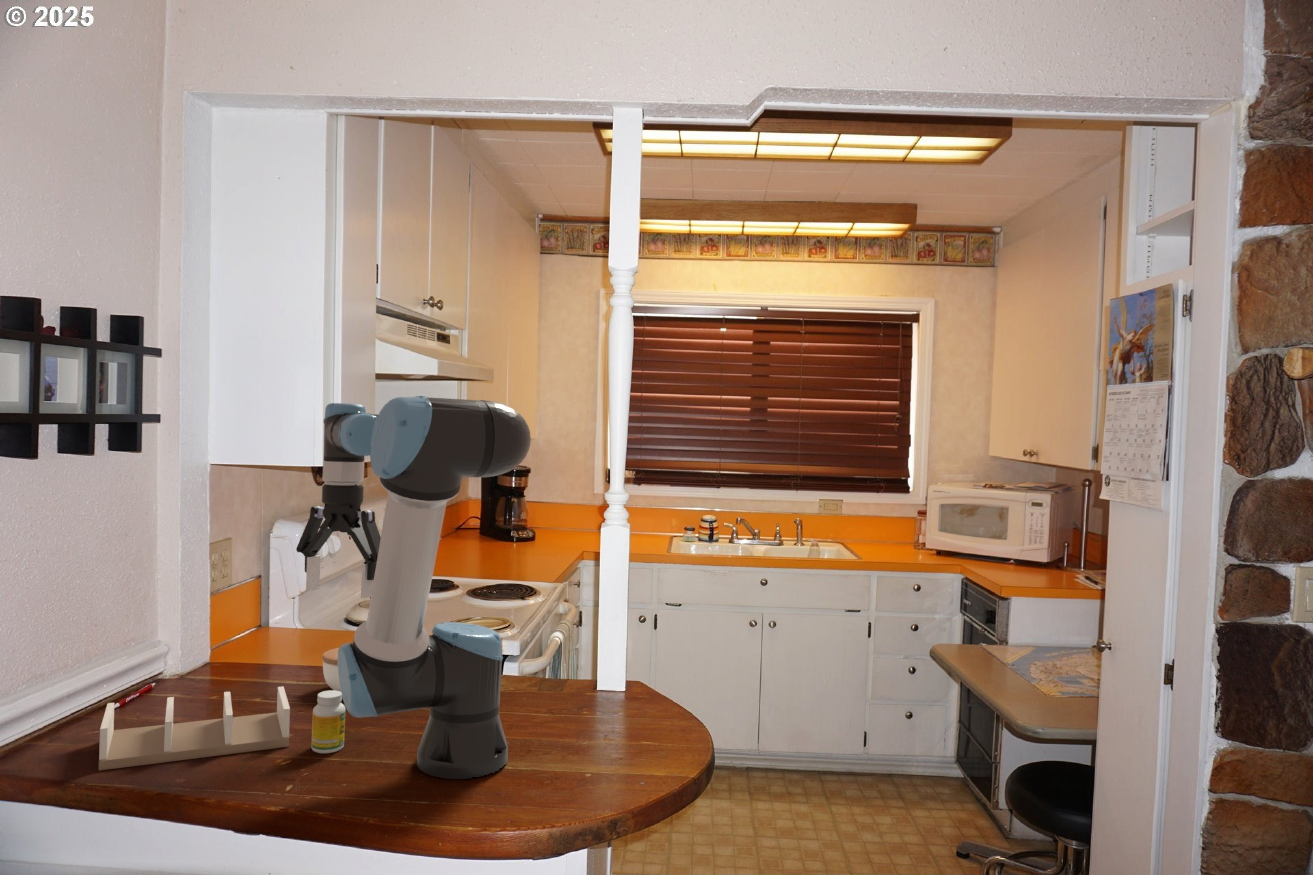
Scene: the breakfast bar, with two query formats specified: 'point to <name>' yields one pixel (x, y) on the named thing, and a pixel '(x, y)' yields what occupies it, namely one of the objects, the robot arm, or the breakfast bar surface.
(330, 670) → the lidded jar
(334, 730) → the supplement bottle
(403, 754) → the breakfast bar surface
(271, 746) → the rack
